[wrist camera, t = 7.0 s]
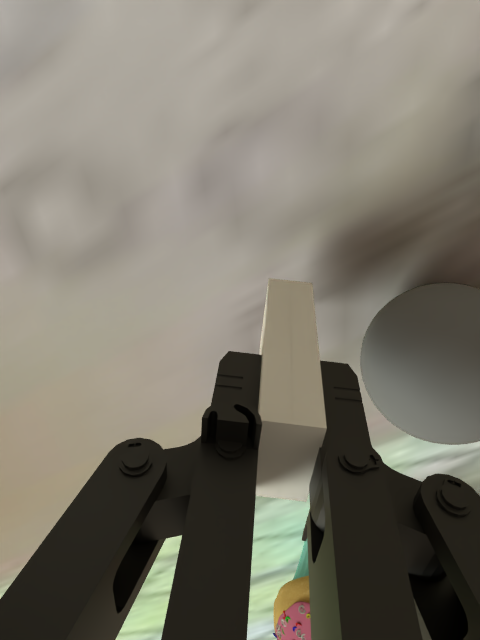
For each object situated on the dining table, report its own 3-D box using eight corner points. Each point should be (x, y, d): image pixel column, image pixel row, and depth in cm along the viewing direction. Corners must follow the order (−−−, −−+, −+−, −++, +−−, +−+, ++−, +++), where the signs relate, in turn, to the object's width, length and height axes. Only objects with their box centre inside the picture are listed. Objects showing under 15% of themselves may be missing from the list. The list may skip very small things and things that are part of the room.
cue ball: (605, 393, 11) (556, 284, 15) (389, 320, 12) (399, 235, 16) (489, 502, 14) (476, 388, 19) (329, 439, 15) (350, 344, 19)
